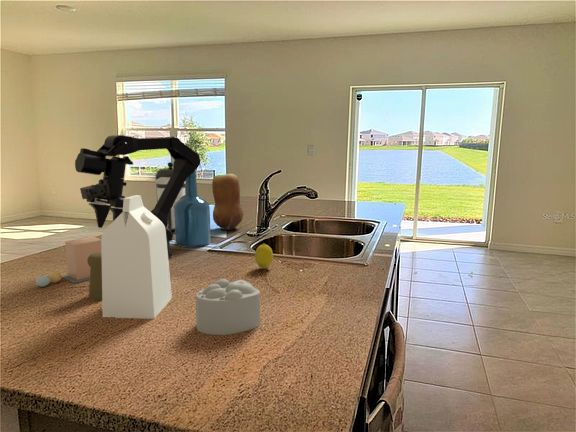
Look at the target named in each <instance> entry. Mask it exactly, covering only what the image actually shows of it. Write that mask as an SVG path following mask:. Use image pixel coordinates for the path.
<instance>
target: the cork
mask: <svg viewBox="0 0 576 432" xmlns="http://www.w3.org/2000/svg"><path fill="white" fill-rule="evenodd" d="M87 262H88V265H89V266H90V267H91V269H90V280H89V288H88V299H89V300H92V301H102V254H101V252H98V253H93V254H91V255H89V257H88V260H87Z"/></svg>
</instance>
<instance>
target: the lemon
mask: <svg viewBox="0 0 576 432" xmlns="http://www.w3.org/2000/svg"><path fill="white" fill-rule="evenodd" d="M254 252H255V253H254V260H255V263H256V265H257V266H259V267H261V268H262V269H263V270H265V269H266V268H268V267H270V266H271V264H272V263H273V260H274V254H273V249H272V248H271V247H270V246H269V245H268V244H266V243H262V244H260V245H258V247H257V248H256V250H255V251H254Z"/></svg>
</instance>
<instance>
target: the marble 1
mask: <svg viewBox="0 0 576 432" xmlns="http://www.w3.org/2000/svg"><path fill="white" fill-rule="evenodd" d="M35 282H36V284H37V286H38V287H41V288H42V287H43V288H44V287H47V286H48V285H49V284H50V282H51V281H50V280H49V276H47V275H45V274H41V275H40V276H38V277H37V278H36V281H35Z"/></svg>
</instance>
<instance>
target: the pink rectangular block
mask: <svg viewBox="0 0 576 432" xmlns="http://www.w3.org/2000/svg"><path fill="white" fill-rule="evenodd" d="M64 245H65V246H64V247H65V254H66V264H67V274H68V276H70V277H72V278H74V279H76V280H79V279H83V278H88V277H90V269H91V267H90V266H89V265H88V262H87V260H88V257H89V255H91V254H93V253H98V252H101V238H99V237H96V236H89V237H85V238H78V239H73V240H66V241H64Z"/></svg>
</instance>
